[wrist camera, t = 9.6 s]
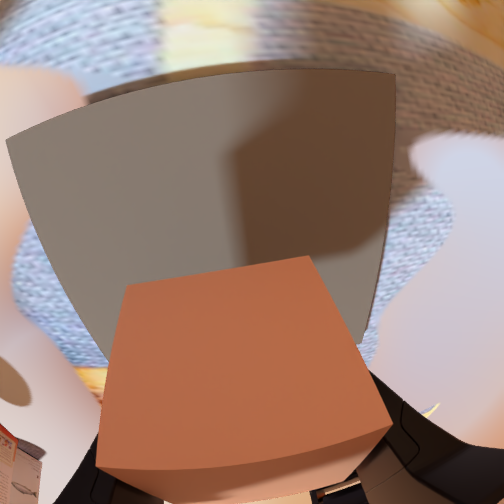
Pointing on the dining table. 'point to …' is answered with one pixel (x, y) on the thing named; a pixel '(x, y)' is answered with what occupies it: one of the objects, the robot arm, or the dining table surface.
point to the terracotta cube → (236, 388)
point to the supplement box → (25, 479)
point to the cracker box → (6, 463)
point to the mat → (214, 185)
